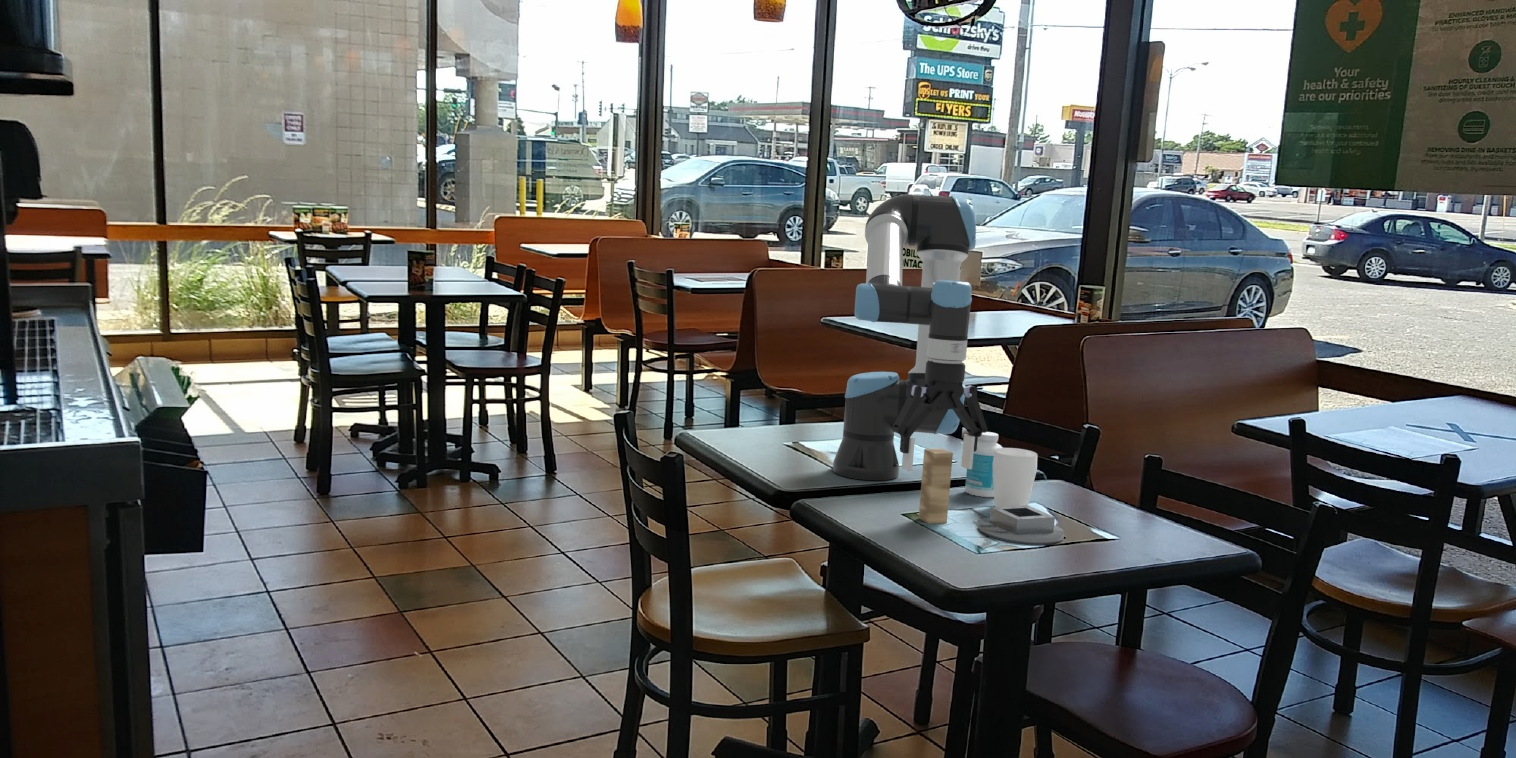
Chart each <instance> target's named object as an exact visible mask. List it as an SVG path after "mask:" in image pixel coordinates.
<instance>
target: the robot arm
mask: <svg viewBox="0 0 1516 758" xmlns="http://www.w3.org/2000/svg"><path fill="white" fill-rule="evenodd" d="M974 207H975V206H974V204H973V202H972V201H971V199H968V198H964V197H958V196H957V197H956V196H953V195H951V196H949V195H947V196H946V195H927V194H926V195H925V194H923V195H922V194H910V193H905V194H899V195H896V196H892V197H891V198H889V199H887V200H885V201H883V202H882V203H880V204H879V205H878V206H877V207H875V209H874V210H873V211H872V212H871V214H870V215H869V216H868V218H867V221H866V224H865V229H864V239H865V240H866V243H867V245H868V249H867V250H868V251H867V262H866V279H865V283H859V284H857V286H856V289H855V301H854V317H855V318H856V319H857V320H859V321H866V322H871V323H876V322H877V323H889V324H891V323H894V324H896V323H897V324H909V325H918V327H917V329H918V330H917V339H916V340H917V341H916V354H915V355H916V356H915V357H916V358H915V365H914V367H913V368H911V369H910V370H909V371H908V372H907V373H908V375H907V379H900V376H899V374H898V373H897V372H894V371H870V372H869V371H868V372H863V373H857V374H854V375H851V376H850V377H849V378H848V380H847V383H846V389H845V394H844V398H845V403H844V404H845V405H844V414H843V415H844V417H843V430H842V431H843V432H842V439H841V442H840V443H839V446H838V449H837V452H836V454H835V456H834V459H833V462H832V472H833V473H835V474H836V475H838V476H841V477H845V478H850V479H855V480H862V481H889V480H893V479H894V480H895V479H896V478H898V477H899V474H900V473H899V472H900V464H899V459H898V456H897V452H896V448H895V443H894V442H895V441H894V440H895V433H896V434H898V435H899V436H900V444H899V452H900V453H902V459H901V461H902V462H901V469H902V470H904V471H907V472H913V466H914V452H915V442H916V441H915V439H916V437H914V436H912V435H913V434H914V433H921V434H922V433H923V434H934V435H937V434H941V435H942V434H943V435H951V434H953V433H955V432H956V431H957V429H958V426H959V425H960V423H961V424H962V425H963V427H964V428H965V430H966V432H967V433H964V434H963V439H962V440H963V442H962V443H963V444H962V452H961V454H962V455H961V463H960V464H961V467H962V468H964V469H966V470H967V469H972V464H973V453H974V452H976V450H977V441H978V437H980V436H981V435H982V433H983V432H984V433H986V432H988V426H987V423H986V421H985V418H984V414H983V411H982V408H981V405H980V403H979V399H978V387H976V386H974V385H970V384H964V383H963V382H964V381H965V375H966V364H965V363H964V361H966V360H967V352H968V351H967V350H968V348H967V347H968V338H969V337H968V335H969V334H968V333H969V327H970V326H969V324H970V315H971V314H970V312H971V304H972V302H973V298H972V284H970V282H968V281H960V279H961V267H962V266H961V264H962V263H963V262H964V261H965V260H966V259H967V258H969V251H972V250H974V249H975V248H976V245H977V243H976V242H977V241H976V240H977V238H976V235H977V225H976V213H975V208H974ZM904 246H908V247H916V248H917V249H916V255H917V257H919V259H920V260H921V261H922V268H921V269H922V272H921V283H920V285H921V286H910V285H903V268H904V267H903V265H904V264H903V259H904ZM965 401H966V404H967V407H968V411H969V412H970V413H968V411H967V410H966V408H965V404H964V402H965ZM969 414H970V415H969Z"/></svg>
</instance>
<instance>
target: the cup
mask: <svg viewBox="0 0 1516 758" xmlns="http://www.w3.org/2000/svg"><path fill="white" fill-rule="evenodd" d="M1037 469H1038V453H1037V452H1036V451H1033V450H1028V449H1025V448H1017V447H1015V448H1014V447H1002V448H998V449H995V452H994V458H993V486H994V497H993V501H994V507H1009V506H1026V505H1028V506H1029V503H1030V498H1031V495H1032V492H1033V487H1034V483H1035V478H1036V475H1037Z"/></svg>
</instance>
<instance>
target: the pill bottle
mask: <svg viewBox="0 0 1516 758" xmlns="http://www.w3.org/2000/svg"><path fill="white" fill-rule="evenodd" d="M998 442H999V434H998V433H996V432H991V431H987V432H986V433H984V432H983V433H982V435H981V436H980V437H978V441H977V450H976V452H974V453H973V464H972V469H967V468H966V476H965V485H964V486H965V487H964V489H965V492H966V494H968V493H969V495H971V496H974V495H975V497H979V496H980V498H994V486H993V458H994V452H995V449H998V448H1003V446H1002V445H1001V444H999V443H998Z"/></svg>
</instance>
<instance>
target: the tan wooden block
mask: <svg viewBox="0 0 1516 758" xmlns="http://www.w3.org/2000/svg"><path fill="white" fill-rule="evenodd" d="M953 454H954V453H953V452H952V451H949V450H946V449H944V448H924V450H923V463H922V473H921V485H920V486H921V487H920V498H919V507H918V508H919V509H918V511H919V512H918V519H919V520H921V521H922V522H925V523H926V524H928V525H933V524H947V522H948V513H949V501H950V489H951V479H952V478H951V477H952V466H953V456H954V455H953Z"/></svg>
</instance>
